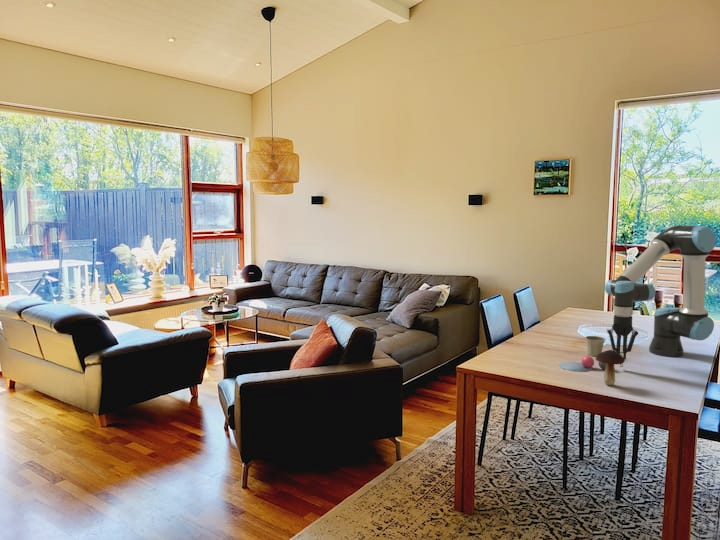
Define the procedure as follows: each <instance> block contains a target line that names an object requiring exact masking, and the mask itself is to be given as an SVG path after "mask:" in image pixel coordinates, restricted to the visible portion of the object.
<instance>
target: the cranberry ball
mask: <svg viewBox="0 0 720 540" xmlns="http://www.w3.org/2000/svg"><path fill="white" fill-rule="evenodd" d="M580 363H582V365H583V366H584V367H585V368H591V367H592V368H593V367H594V366H595V360H594V358H593V356H590V355H589V356H588V355H586V356H583V357H582V358H581V361H580Z"/></svg>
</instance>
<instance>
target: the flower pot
mask: <svg viewBox="0 0 720 540" xmlns="http://www.w3.org/2000/svg"><path fill="white" fill-rule="evenodd" d="M584 338H585V339H584V340H585V342H586V349H587V351H586V352H587V355H589V356H590V357H597V355H598V354H600V353H602V352H603V346H604V343H605V341H606V338H604V337H602V336H595V335H588V336H587V335H586V336H584Z"/></svg>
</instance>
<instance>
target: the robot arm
mask: <svg viewBox="0 0 720 540" xmlns="http://www.w3.org/2000/svg"><path fill="white" fill-rule="evenodd" d="M716 244H717V237H716V234H715V232H714V231H713V230H712V229H711V228H710V227H708V226H701V225H673V226H671V227H668V228H666V229H665V230H663V231H662V232H660V233H658V234H657V235H656V236H655V237H654V238H653V239H652V240H650V245H649V246H648V247H647V248H646V249H644V251H643V252H641V254H640V255H639V256H638V257H636V259H635V260H634V261H632V263H631V264H630V265H629V266H628V267H627V268H626V269H625V270H624V271H623V272H622V273H621V274H620V275H619V276H618V277H617V278H616V279H609V280H608V281H607V282H606V283H605V285H604V290H605V292H606V294H608V295H610V296H613V297H614V307H613V308H614V309H613V314H614V315H613V324H612V326H611V327H610V328H607V329H606V332H607V334H608V335H609V340H610V341H609V342H610V345H611V350H613V351H615V352H617V353H619V354H620V355H621V356H622V357H623V358H624V360H625V361H626V359H627V353H630V352H632V349H633V346H634V342H635V339H636V337H637V336H638V335H639V332H638V330H635V329H634V327H633V309H634V303H635V302H643V301H645V302H647V301H651V300H653V299H654V298H655V297H656V289H655V286H654V285H652V284H650V283H642V284H641V283H638V282H639V281H640V280H641V279H642V278H643V277H644V276H645V275H646V274H647V273H648V272H649V271H650V269H652V268H653V267H654V265H656V263H658V261H659V260H661V259H662V258H663V256H666V255H669V254H670V252H672V251H675V250H676V251H677V250H678V251H679V254H680V256H681V257H682V258H683V284H682V285H683V289H682V290H683V292H682V293H683V294H682V295H683V297H682V308H681V307H659V308H656V309H655V312H654V320H653V321H654V323H653V324H654V325H653V338H652V339H651V342H650V344H649V347H648V351H649V353H650V354H654V355H658V356H664V357H676V358H677V357H681V356H684V350H685V349H684V346H683V344H682V341H681V337H682V338H687V339H690V340H696V341H703V340H706V339H708V338H709V337H710V336H711V335H712V333H713V332H714V328H715V322H714V320H713V318H711V317H709V311H708V310H707V309H705V293H706V292H705V290H706V288H705V287H706V259H707V257H709V256H710V252H712V251H713V250H714V249H715V247H716ZM614 333H615V334H616V345H615V340H614V335H613V334H614ZM630 334H631V336H630V339H629V342H628V336H629V335H630ZM621 342H622V351H621ZM617 365H618V367H619V368H623V367H624V363H622V364H617Z"/></svg>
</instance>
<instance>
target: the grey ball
mask: <svg viewBox="0 0 720 540" xmlns="http://www.w3.org/2000/svg"><path fill="white" fill-rule="evenodd" d="M598 367H599V368H601V369H602V370H604V371H605V367H606V363H602V362H599V361H598Z"/></svg>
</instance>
